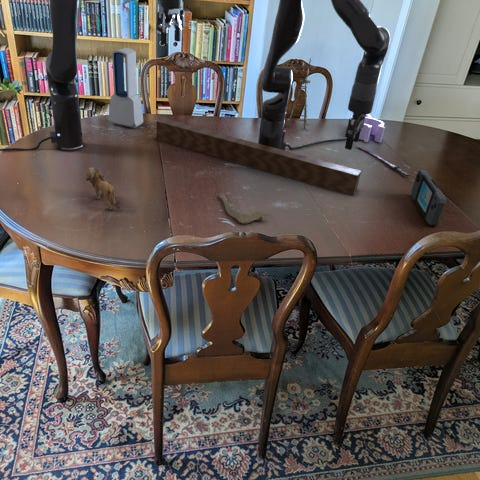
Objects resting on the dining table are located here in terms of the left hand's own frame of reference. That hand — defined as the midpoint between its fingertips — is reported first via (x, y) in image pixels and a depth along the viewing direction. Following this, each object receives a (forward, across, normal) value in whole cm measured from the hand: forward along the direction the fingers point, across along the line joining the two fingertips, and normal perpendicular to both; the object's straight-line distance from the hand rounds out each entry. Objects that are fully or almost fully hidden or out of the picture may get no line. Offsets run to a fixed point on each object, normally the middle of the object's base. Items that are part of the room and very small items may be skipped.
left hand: (171, 42), depth 168 cm
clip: (+37, -64, +65) cm, 98 cm away
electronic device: (+37, -4, -24) cm, 44 cm away
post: (+37, 0, +36) cm, 52 cm away
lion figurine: (+37, +54, +12) cm, 67 cm away
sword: (+37, -35, +78) cm, 94 cm away
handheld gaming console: (+37, -1, +99) cm, 106 cm away
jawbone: (+37, +34, +49) cm, 70 cm away
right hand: (+20, 0, +72) cm, 74 cm away
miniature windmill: (+37, -54, +35) cm, 74 cm away
